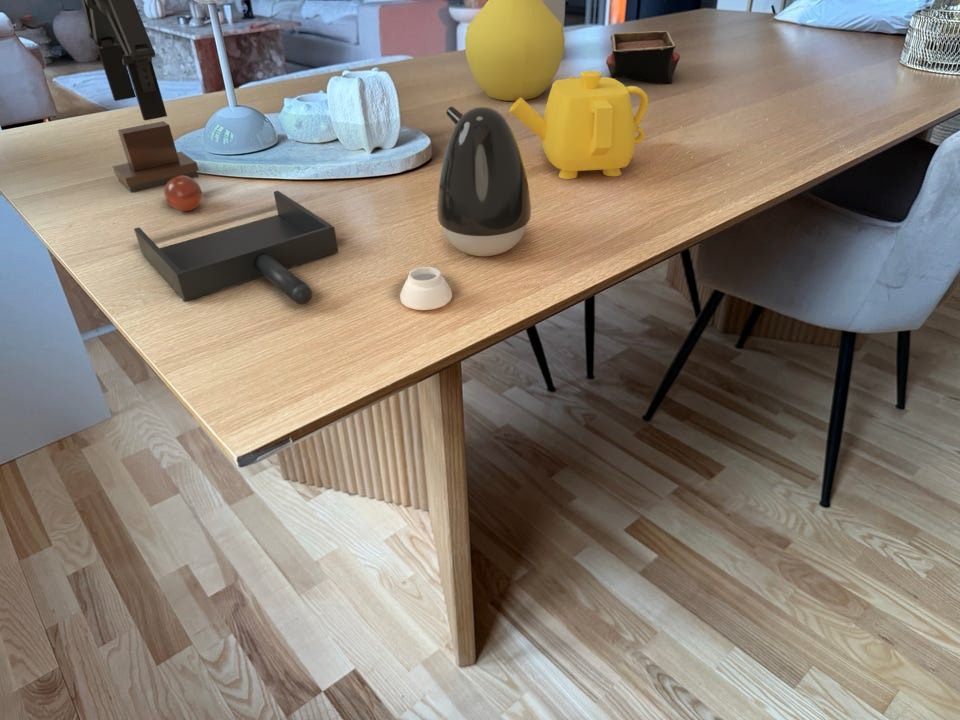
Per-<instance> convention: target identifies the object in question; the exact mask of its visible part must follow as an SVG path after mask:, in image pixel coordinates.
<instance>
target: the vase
mask: <svg viewBox="0 0 960 720" xmlns="http://www.w3.org/2000/svg"><path fill="white" fill-rule="evenodd" d="M565 40H566V38H565V33H564V27H562V24H561V23H560V22H559V21H558V19H557V18H556V17H555V16H554V15H553V14H552V12H551V11H550V10H549V9H548V8H547V7H546V5H545V4H544V3H543V2H542V0H487V1H486V3H485V4H484V6H483V7H482V8H481V9H480V10H479V12H478V13H477V14H476V16H474V17H473V19H472V20H471V21H470V22H469V24H468V25H467V27H466V32H465V38H464V46H465V47H464V48H465V56H466V59H467V64H468V67H469V69H470V71H471V74H472V76H473V78H474V80H475V82H476V83H477V84H478V86H479V88H480V89H481V90H482V91H483V92H484V93H485V94H486V95H487V96H488V97H489V98H492V99H495V100H499V101H506V102H516V101H517V100H518V99H519V98H522V99H523V100H525V101H529V100H533V99H535V98H538V97H540V96H541V95H542V94H543V93H544V92H545V91H546V89H548V88H549V86H550V84H551V83H552V81H553V80H554V78H555V77H556V74H557V73H558V70H559V68H560V65H561V61H562V59H563V56H564V52H565Z"/></svg>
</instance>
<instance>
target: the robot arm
mask: <svg viewBox="0 0 960 720" xmlns="http://www.w3.org/2000/svg"><path fill="white" fill-rule="evenodd" d="M81 4H82V8H83V12H84V17H85V22H86V27H87V29H88V37H89V39H90V40H91V41H93V43H94V45H95V47H96V48H97V51H98V54H99V57H100V60H101V64H102V67H103V70H104V73H105V75H106V76H105V77H106V79H107V83H108V85H109V89H110V91H111V94H112V98H113V100H114V101H115V102H117V101H123V100H128V99H134V98H136V99H137V104H138V107H139V109H140V113H141V117H142V120H143V121H151V120H155V119H159V118H160V119H161V118H166V117H168V114H167V111H166V106H165V104H164V103H165V102H164V100H163V97H162V93H161V89H160V85H159V83H158V78H157V75H156V72H155V69H154V65H153V58H156V51H155V49H154V47H153V44H152V41H151V40H150V37H149V35H148V34H149V33H148V31H147V30H146V27H145V25H144V22H143V19H142V17H141V14H140V12H139V10H138V7H137V5H136V2H135V0H81ZM123 52H124V54H123Z"/></svg>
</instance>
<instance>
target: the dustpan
mask: <svg viewBox="0 0 960 720" xmlns="http://www.w3.org/2000/svg"><path fill="white" fill-rule="evenodd" d="M273 196H274V202H275V206H276V210H277V214H276V215H271V216H269V217H265V218H260V219H258V220H254V221H251V222H247V223H244V224H239V225H237V226H233V227H230V228H226V229H223V230H219V231H215V232H211V233H209V234H205V235H201V236H197V237H194V238H190V239H187V240H183V241H180V242H177V243H173V244H169V245H165V246H162V247H159V246H158V245H157V244H156V243H155V242H154V241H153V239H151V238H150V237H149V236H148V235H147V234H146V232H145V231H143V229H142V228H141V227H135V228H134V229H133V230H134V233H135V236H136V240H137V242H138V246H139V248H140V251H141V255H142V256H143V257H144V258H145V259H146V261H147V262H148V263H149V264H150V265H151V267H153V268H154V269H155V270H156V272H157V273H158V274H159V275H160V276H161V277H162V278H163V280H164V281H165V282H166V283H167V284H168V285H169V286H170V287H171V289H172V290H173V291H174V292H175V294H177V296H179V298H180V299H181V300H182V301H184V302H187V301H190V300H193V299H197V298H199V297H202V296H205V295H209V294H212V293H215V292H218V291H221V290H224V289H227V288H230V287H233V286H237V285H239V284H243V283H245V282H248V281H252V280H255V279H257V278H261V277H265V278H266V279H267V280H268V281H269V282H270V283H272V284H273V285H274V286H275V287H276V288H278V289H279V290H280V291H281V292H283V293H284V294H285V295H286V297H288V298H289V299H291V300H292V301H293V302H294V303H295V304H297V305H306V304H308V303H310V301H311V300H312V298H313V290H312V288H311V287H310V286H309V285H308V284H306V283H305V282H304V281H303V280H302V279H300V278H299V277H298V276H297V275H296V274H294V273H293V272H292V271H290V270H289V269H288V268H292V267H294V266H298V265H301V264H304V263H308V262H310V261H314V260H316V259H320V258H322V257H326V256H328V255H331V254H335V253H337V252H339V247H338V242H337V236H336V228H335V226H334V225H332V224H331V223H330V222H328V221H326V219H323V218H322V217H320V216H318V215H317V214H316V213H314V212H313V211H311V210H310V209H307V208H306V207H304V206H302V205H301V204H300V203H298V202H297V201H295V200H293V199H292V198H290V197H289V196H287V195H286V194H284V193H283V192H281V191H279V190H274V191H273Z"/></svg>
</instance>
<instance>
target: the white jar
mask: <svg viewBox="0 0 960 720" xmlns="http://www.w3.org/2000/svg"><path fill="white" fill-rule="evenodd" d="M452 298H453V292H452V289H451V287H450V285H449V284H448V282H447V281H446V279H445V277H444V276H442V273H441V271H440V270H439V269H437V268H435V267H431V266H422V267H421V266H420V267H416V268H414V269H412V270H410V271H409V273H408V276H407V279H405V282H404V283H403V287H402V289H401V291H400V293H399V299H400V302H401V304H402V305H403V306H405V307H406V308H409V309H412V310H415V311H430V310H436V309H439V308H442V307H445V306H446V305H447V304H448V303H450V302H451V300H452Z"/></svg>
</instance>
